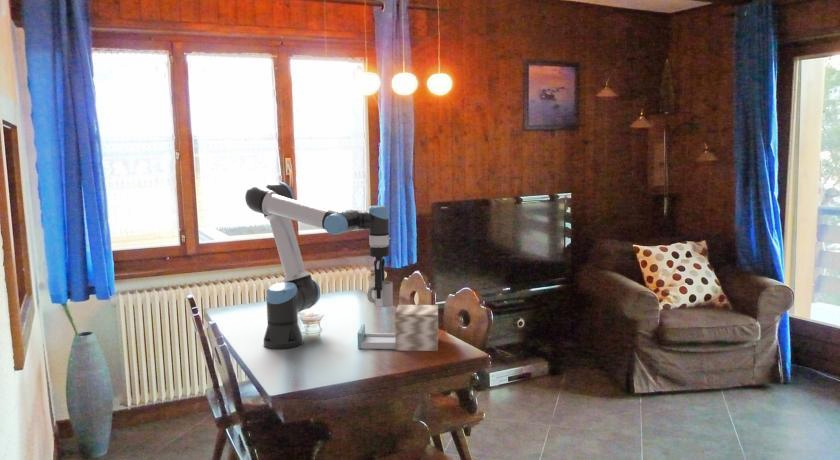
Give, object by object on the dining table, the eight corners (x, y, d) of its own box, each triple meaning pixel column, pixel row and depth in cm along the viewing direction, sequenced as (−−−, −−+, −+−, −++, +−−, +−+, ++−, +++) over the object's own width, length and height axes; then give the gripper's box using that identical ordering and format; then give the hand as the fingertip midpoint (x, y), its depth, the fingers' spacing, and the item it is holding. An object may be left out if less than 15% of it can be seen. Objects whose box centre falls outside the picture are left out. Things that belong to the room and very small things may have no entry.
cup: (395, 306, 250) (394, 283, 249) (369, 308, 247) (369, 285, 246) (389, 302, 257) (389, 280, 256) (365, 304, 254) (364, 282, 253)
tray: (357, 348, 248) (357, 333, 248) (362, 338, 261) (361, 324, 261) (407, 349, 248) (406, 333, 247) (409, 339, 261) (408, 324, 260)
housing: (395, 350, 247) (395, 314, 245) (398, 338, 262) (398, 304, 260) (437, 350, 246) (437, 314, 244) (438, 339, 261) (438, 305, 259)
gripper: (386, 249, 240) (387, 310, 242) (391, 242, 260) (391, 298, 262) (366, 249, 240) (367, 310, 243) (372, 242, 260) (373, 298, 263)
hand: (380, 304), depth 253 cm, fingers closed on cup, 7 cm apart
